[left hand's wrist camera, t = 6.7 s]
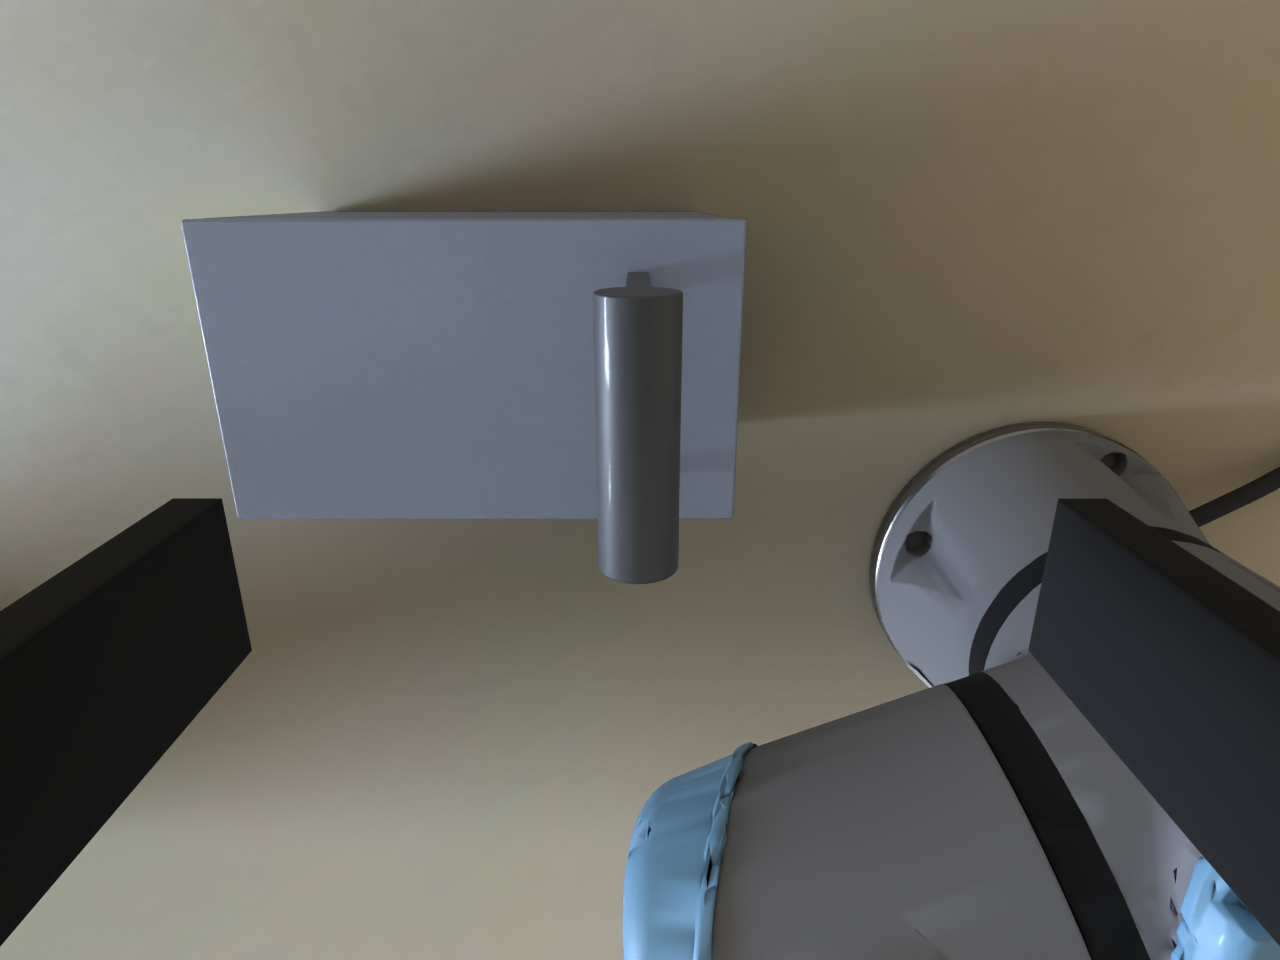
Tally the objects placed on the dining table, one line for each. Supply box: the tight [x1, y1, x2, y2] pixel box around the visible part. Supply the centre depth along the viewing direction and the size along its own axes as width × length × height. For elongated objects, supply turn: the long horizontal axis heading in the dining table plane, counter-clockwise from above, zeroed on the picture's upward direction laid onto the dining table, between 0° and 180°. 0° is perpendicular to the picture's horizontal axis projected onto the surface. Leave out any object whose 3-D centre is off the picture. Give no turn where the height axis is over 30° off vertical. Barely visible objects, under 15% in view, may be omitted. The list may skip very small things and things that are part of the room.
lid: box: [181, 219, 746, 584], centre depth 23 cm, size 18×10×9 cm, turn 90°
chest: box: [204, 212, 724, 219], centre depth 32 cm, size 17×10×10 cm, turn 90°
